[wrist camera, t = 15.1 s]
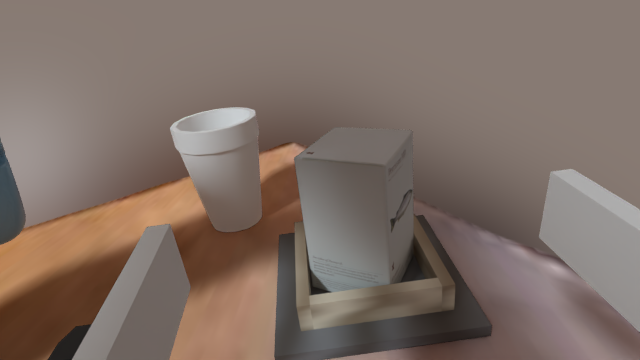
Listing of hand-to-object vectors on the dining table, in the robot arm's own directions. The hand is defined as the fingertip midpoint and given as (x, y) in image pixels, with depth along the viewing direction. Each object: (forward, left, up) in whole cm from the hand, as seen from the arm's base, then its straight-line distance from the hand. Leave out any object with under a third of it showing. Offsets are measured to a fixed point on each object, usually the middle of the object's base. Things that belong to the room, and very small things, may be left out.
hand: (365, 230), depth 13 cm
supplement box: (-11, +12, -16) cm, 23 cm away
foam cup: (-32, +11, -17) cm, 37 cm away
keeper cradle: (-12, +12, -17) cm, 24 cm away
